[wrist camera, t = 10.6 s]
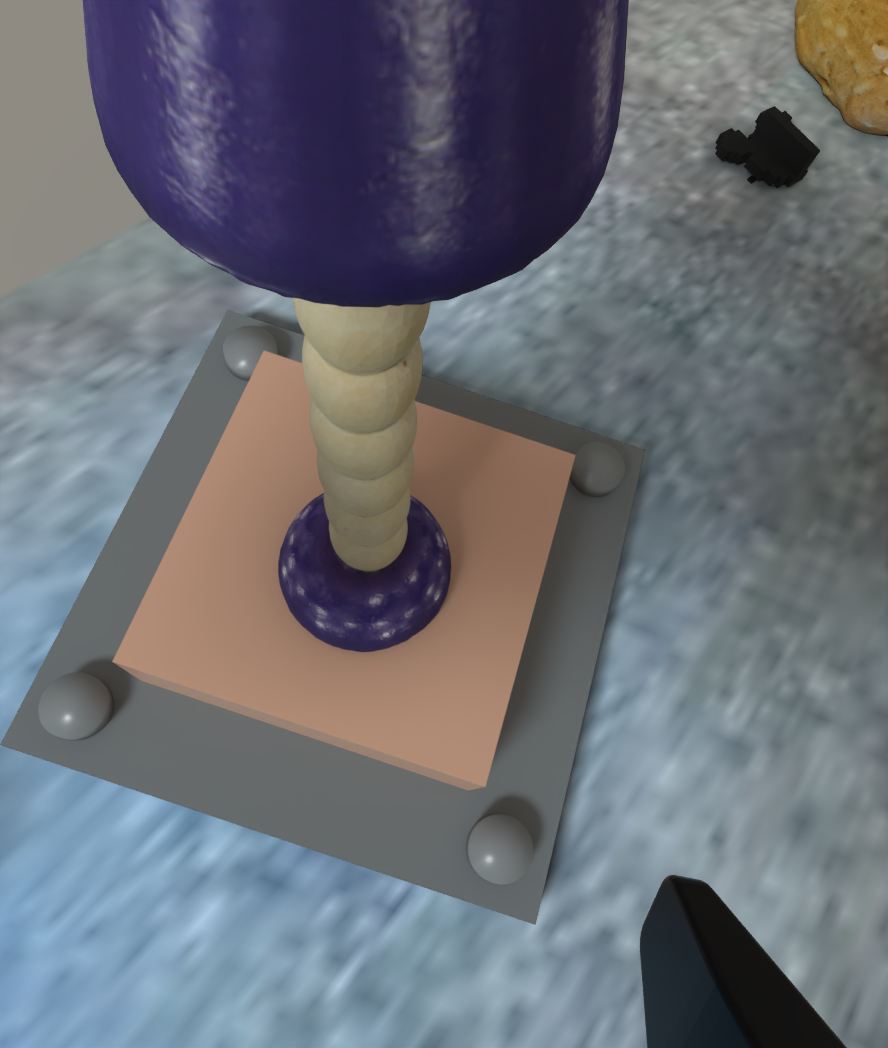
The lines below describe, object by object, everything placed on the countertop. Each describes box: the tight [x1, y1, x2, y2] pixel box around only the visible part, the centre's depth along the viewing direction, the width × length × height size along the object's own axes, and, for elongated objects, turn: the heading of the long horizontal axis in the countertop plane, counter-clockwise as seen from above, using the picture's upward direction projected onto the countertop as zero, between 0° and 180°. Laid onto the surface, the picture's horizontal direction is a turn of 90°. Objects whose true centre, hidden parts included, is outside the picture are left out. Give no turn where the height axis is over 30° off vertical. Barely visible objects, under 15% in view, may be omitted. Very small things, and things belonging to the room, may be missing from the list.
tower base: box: [1, 310, 645, 925], centre depth 21 cm, size 14×14×4 cm
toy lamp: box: [83, 0, 629, 652], centre depth 11 cm, size 5×5×17 cm
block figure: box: [715, 106, 820, 187], centre depth 30 cm, size 6×2×6 cm
